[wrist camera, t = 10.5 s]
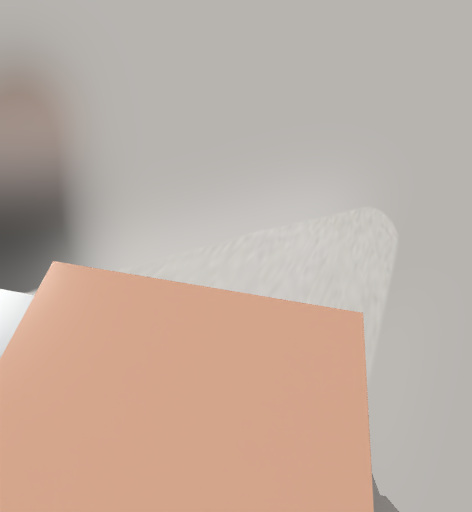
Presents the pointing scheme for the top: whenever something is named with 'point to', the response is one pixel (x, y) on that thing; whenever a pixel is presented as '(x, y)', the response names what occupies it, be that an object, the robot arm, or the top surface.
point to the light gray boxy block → (11, 314)
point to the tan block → (181, 401)
